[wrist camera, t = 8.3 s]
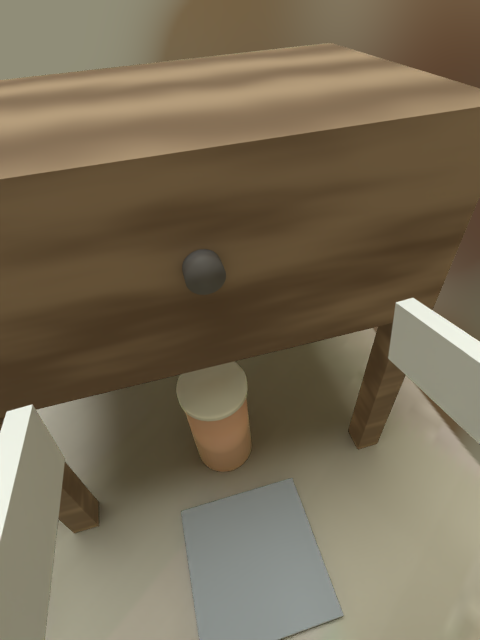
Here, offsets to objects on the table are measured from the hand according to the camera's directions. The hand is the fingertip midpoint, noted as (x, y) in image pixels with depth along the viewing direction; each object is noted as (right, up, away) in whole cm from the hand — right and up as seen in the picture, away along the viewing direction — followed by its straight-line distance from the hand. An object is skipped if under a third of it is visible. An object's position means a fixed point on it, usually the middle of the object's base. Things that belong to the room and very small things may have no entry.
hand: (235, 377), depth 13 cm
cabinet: (-3, -7, +26) cm, 27 cm away
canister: (-1, -10, +23) cm, 25 cm away
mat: (+1, -17, +16) cm, 23 cm away
